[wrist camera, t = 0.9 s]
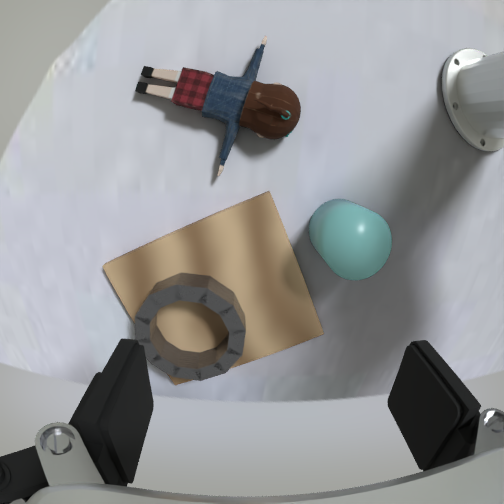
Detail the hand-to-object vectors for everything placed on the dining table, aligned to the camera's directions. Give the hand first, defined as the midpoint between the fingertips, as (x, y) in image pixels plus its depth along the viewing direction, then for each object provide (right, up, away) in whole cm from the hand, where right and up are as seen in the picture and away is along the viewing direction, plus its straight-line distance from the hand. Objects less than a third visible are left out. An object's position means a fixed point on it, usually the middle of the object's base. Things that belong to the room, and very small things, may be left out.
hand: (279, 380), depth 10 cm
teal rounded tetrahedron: (+8, +7, +20) cm, 23 cm away
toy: (-4, +19, +17) cm, 25 cm away
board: (-5, 0, +22) cm, 22 cm away
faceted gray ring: (-7, -3, +22) cm, 23 cm away
